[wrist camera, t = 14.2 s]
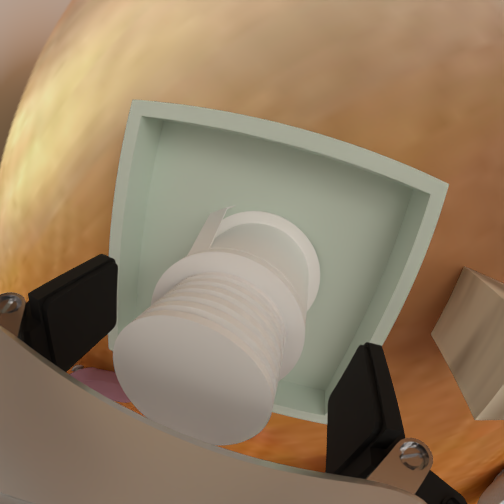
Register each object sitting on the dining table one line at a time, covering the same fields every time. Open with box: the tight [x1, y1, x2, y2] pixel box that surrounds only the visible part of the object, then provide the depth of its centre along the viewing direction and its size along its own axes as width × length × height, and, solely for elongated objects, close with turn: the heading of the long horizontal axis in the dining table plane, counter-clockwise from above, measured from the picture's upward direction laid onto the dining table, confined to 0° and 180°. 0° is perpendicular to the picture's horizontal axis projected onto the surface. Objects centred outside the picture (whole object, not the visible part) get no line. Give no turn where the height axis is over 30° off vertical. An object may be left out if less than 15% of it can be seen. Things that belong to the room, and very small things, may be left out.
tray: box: [108, 100, 449, 424], centre depth 15 cm, size 16×16×3 cm
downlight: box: [113, 205, 320, 445], centre depth 12 cm, size 8×7×10 cm
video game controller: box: [69, 365, 131, 403], centre depth 21 cm, size 10×5×7 cm, turn 134°
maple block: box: [431, 266, 504, 420], centre depth 11 cm, size 5×5×8 cm
